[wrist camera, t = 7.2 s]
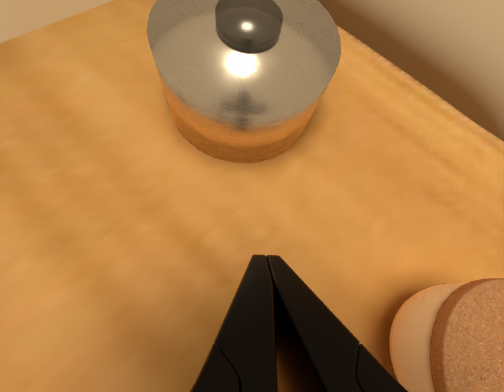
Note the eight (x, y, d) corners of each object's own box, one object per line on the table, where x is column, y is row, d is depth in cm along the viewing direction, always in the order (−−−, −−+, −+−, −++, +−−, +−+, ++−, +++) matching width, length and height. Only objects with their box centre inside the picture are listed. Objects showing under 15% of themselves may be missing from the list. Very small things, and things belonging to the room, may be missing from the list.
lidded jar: (337, 326, 20) (428, 362, 11) (424, 256, 23) (551, 239, 14) (428, 470, 17) (642, 665, 8) (513, 371, 20) (740, 439, 11)
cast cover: (331, 94, 28) (378, 11, 19) (260, 191, 23) (281, 137, 14) (226, 31, 30) (227, -72, 21) (138, 109, 25) (92, 15, 16)
